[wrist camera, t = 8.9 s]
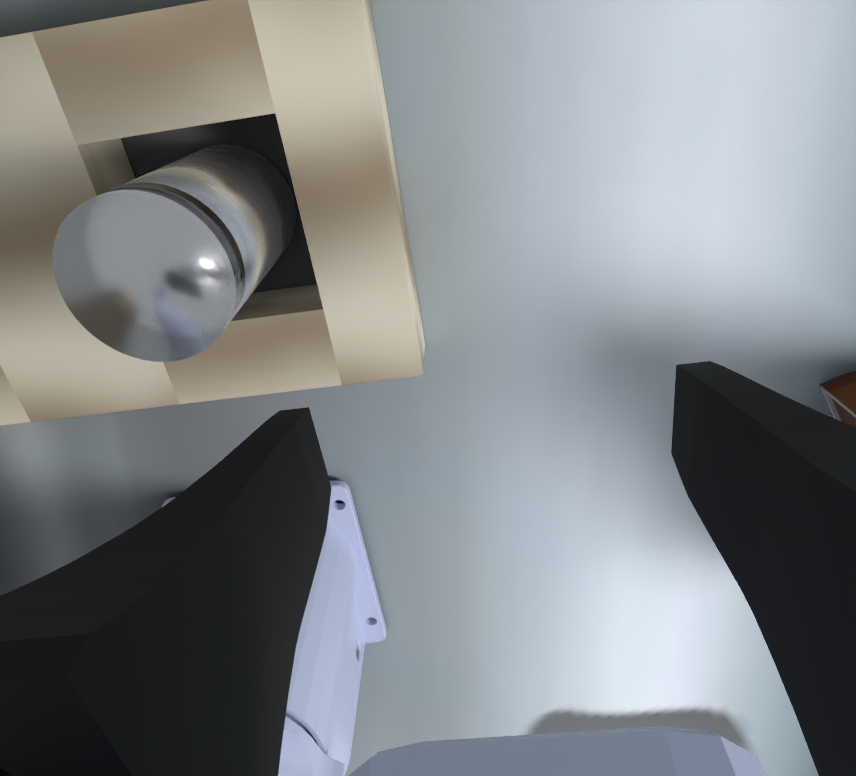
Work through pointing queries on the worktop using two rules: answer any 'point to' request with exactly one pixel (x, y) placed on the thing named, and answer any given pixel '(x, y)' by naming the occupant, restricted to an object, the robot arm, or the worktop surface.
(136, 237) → the silver metal cylinder
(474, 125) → the worktop surface
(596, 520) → the worktop surface
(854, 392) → the food container
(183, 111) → the board
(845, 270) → the worktop surface
